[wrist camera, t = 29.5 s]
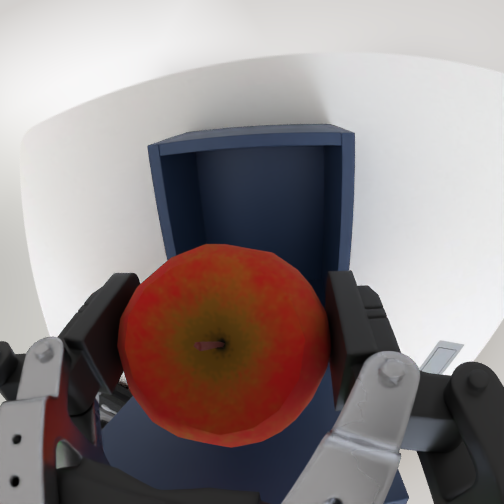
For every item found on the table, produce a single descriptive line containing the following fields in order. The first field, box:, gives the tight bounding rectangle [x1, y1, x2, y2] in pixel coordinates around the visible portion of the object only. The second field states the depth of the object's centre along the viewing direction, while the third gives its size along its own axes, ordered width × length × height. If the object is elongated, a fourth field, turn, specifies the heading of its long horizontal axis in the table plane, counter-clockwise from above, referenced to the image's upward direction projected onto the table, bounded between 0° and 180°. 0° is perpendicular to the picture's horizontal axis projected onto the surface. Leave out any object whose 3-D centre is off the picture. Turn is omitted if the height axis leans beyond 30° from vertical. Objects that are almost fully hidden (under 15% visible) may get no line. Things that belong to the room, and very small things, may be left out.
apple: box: [117, 244, 331, 448], centre depth 10 cm, size 6×6×8 cm
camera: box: [95, 384, 133, 430], centre depth 43 cm, size 18×10×10 cm
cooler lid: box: [101, 363, 409, 504], centre depth 15 cm, size 16×13×5 cm
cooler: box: [148, 124, 355, 309], centre depth 24 cm, size 16×13×9 cm
